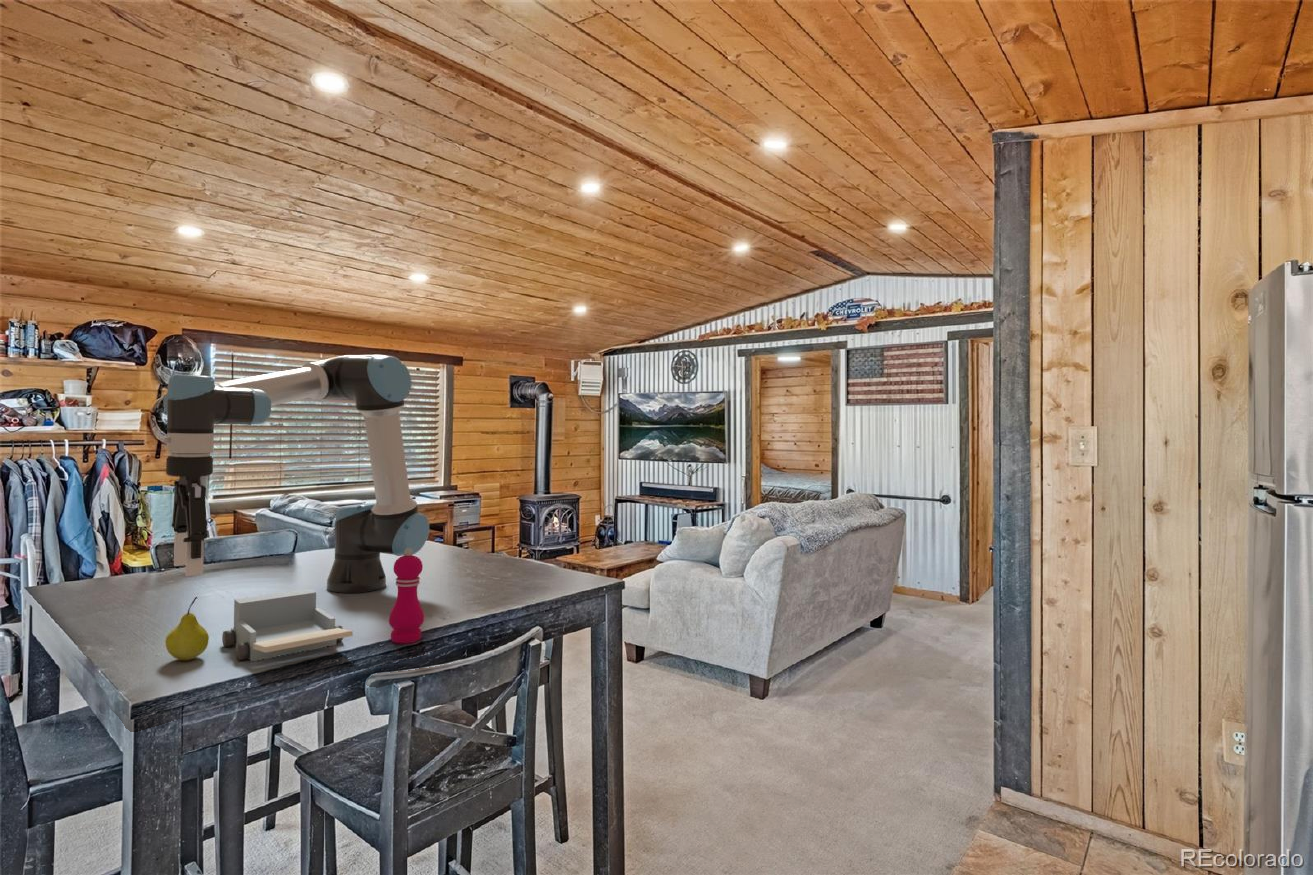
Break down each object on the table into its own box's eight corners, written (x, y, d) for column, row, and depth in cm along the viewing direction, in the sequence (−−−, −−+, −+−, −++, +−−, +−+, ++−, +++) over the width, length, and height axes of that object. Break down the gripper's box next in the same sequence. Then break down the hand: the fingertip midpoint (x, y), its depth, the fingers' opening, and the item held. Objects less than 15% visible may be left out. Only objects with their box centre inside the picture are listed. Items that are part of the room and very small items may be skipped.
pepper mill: (394, 633, 156) (396, 544, 156) (427, 634, 157) (429, 545, 156) (384, 644, 149) (386, 551, 148) (418, 644, 150) (421, 552, 149)
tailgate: (252, 643, 136) (265, 647, 130) (337, 627, 147) (352, 630, 141) (252, 649, 136) (265, 653, 130) (337, 633, 147) (352, 636, 141)
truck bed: (220, 643, 146) (221, 601, 145) (319, 626, 159) (320, 587, 159) (241, 664, 135) (242, 617, 135) (345, 643, 149) (346, 601, 148)
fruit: (175, 668, 131) (176, 605, 131) (158, 660, 135) (159, 599, 135) (214, 658, 137) (215, 598, 137) (197, 651, 141) (198, 592, 141)
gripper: (155, 451, 140) (153, 562, 141) (179, 459, 124) (177, 584, 125) (199, 451, 145) (197, 557, 146) (227, 458, 130) (225, 578, 130)
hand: (188, 569), depth 136 cm, fingers open, 9 cm apart
